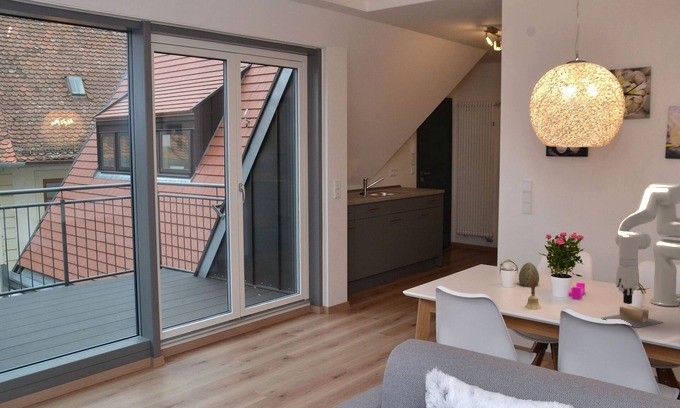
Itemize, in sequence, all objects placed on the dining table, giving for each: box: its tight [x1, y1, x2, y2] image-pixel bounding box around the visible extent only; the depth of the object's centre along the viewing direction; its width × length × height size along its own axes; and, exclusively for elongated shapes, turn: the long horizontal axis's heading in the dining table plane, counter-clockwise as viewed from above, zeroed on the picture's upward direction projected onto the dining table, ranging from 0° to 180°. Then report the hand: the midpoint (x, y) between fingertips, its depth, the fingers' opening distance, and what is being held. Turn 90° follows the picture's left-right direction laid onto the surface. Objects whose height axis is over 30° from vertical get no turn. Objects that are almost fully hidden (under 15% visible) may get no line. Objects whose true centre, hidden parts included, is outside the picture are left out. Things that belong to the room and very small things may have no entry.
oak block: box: [619, 304, 650, 323], centre depth 274 cm, size 5×10×6 cm
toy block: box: [568, 281, 586, 301], centre depth 317 cm, size 15×6×8 cm, turn 150°
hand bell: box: [524, 276, 543, 310], centre depth 297 cm, size 8×8×16 cm
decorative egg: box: [518, 262, 540, 288], centre depth 340 cm, size 11×11×15 cm
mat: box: [602, 313, 664, 329], centre depth 273 cm, size 18×18×1 cm
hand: (627, 303), depth 272 cm, fingers closed
